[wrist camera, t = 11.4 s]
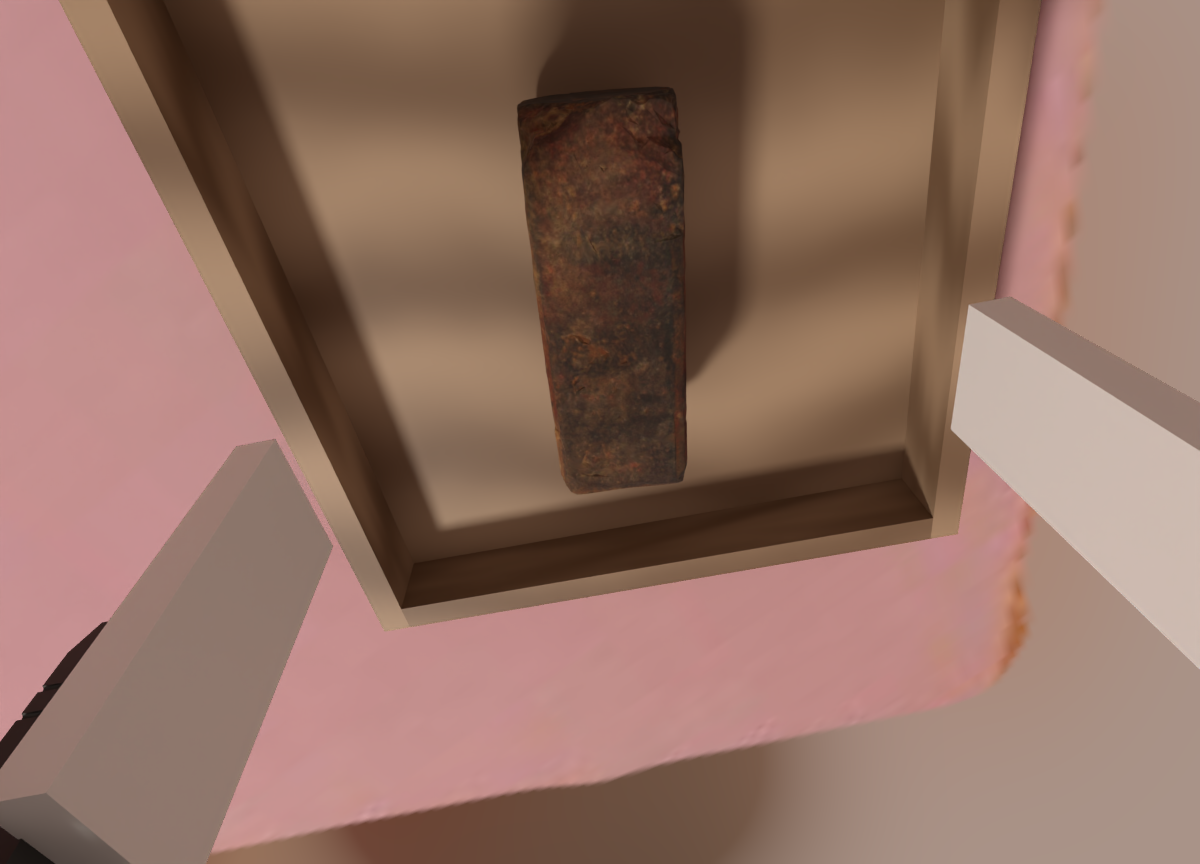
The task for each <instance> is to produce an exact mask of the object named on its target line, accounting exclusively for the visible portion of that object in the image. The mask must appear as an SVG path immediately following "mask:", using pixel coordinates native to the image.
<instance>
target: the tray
mask: <svg viewBox="0 0 1200 864" xmlns="http://www.w3.org/2000/svg"><path fill="white" fill-rule="evenodd" d="M59 2H60V4H61V6H62V8H63V10H64V12H65V13H66V15H67V17H68V19H69V21H70V23H71V25H72V27H73V29H74V31H75V33H76V35H77V37H78V39H79V41H80V43H81V44H82V46H83V48H84V50H85V52H86V54H87V56H88V58H89V60H90V62H91V64H92V66H93V68H94V70H95V72H96V74H97V75H98V77H99V79H100V81H101V83H102V85H103V87H104V89H105V91H106V93H107V95H108V97H109V99H110V101H111V103H112V104H113V106H114V108H115V110H116V112H117V114H118V116H119V118H120V120H121V122H122V124H123V126H124V128H125V130H126V132H127V134H128V135H129V137H130V139H131V141H132V143H133V145H134V147H135V149H136V151H137V153H138V155H139V157H140V159H141V161H142V163H143V164H144V166H145V168H146V170H147V172H148V174H149V176H150V178H151V180H152V182H153V184H154V186H155V188H156V190H157V192H158V194H159V195H160V197H161V199H162V201H163V203H164V205H165V207H166V209H167V211H168V213H169V215H170V217H171V219H172V221H173V223H174V225H175V226H176V228H177V230H178V232H179V234H180V236H181V238H182V240H183V242H184V244H185V246H186V248H187V250H188V252H189V254H190V255H191V257H192V259H193V261H194V263H195V265H196V267H197V269H198V271H199V273H200V275H201V277H202V279H203V281H204V283H205V285H206V286H207V288H208V290H209V292H210V294H211V296H212V298H213V300H214V302H215V304H216V306H217V308H218V310H219V312H220V314H221V316H222V317H223V319H224V321H225V323H226V325H227V327H228V329H229V331H230V333H231V335H232V337H233V339H234V341H235V343H236V345H237V346H238V348H239V350H240V352H241V354H242V356H243V358H244V360H245V362H246V364H247V366H248V368H249V370H250V372H251V374H252V376H253V377H254V379H255V381H256V383H257V385H258V387H259V389H260V391H261V393H262V395H263V397H264V399H265V401H266V403H267V405H268V407H269V408H270V410H271V412H272V414H273V416H274V418H275V420H276V422H277V424H278V426H279V428H280V430H281V432H282V434H283V436H284V437H285V439H286V441H287V443H288V445H289V447H290V449H291V451H292V453H293V455H294V457H295V459H296V461H297V463H298V465H299V467H300V468H301V470H302V472H303V474H304V476H305V478H306V480H307V482H308V484H309V486H310V488H311V490H312V492H313V494H314V496H315V497H316V499H317V501H318V503H319V505H320V507H321V509H322V511H323V513H324V515H325V517H326V519H327V521H328V523H329V525H330V527H331V528H332V530H333V532H334V534H335V536H336V538H337V540H338V542H339V544H340V546H341V548H342V550H343V552H344V554H345V556H346V558H347V559H348V561H349V563H350V565H351V567H352V569H353V571H354V573H355V575H356V577H357V579H358V581H359V583H360V585H361V587H362V588H363V590H364V592H365V594H366V596H367V598H368V600H369V602H370V604H371V606H372V608H373V610H374V612H375V614H376V616H377V618H378V619H379V621H380V623H381V625H382V627H383V629H384V631H390V630H396V629H402V628H408V627H414V626H420V625H426V624H432V623H438V622H443V621H449V620H455V619H461V618H467V617H473V616H479V615H485V614H490V613H496V612H502V611H508V610H514V609H520V608H526V607H532V606H537V605H543V604H549V603H555V602H561V601H567V600H573V599H579V598H584V597H590V596H596V595H602V594H608V593H614V592H620V591H626V590H632V589H637V588H643V587H649V586H655V585H661V584H667V583H673V582H679V581H684V580H690V579H696V578H702V577H708V576H714V575H720V574H726V573H731V572H737V571H743V570H749V569H755V568H761V567H767V566H773V565H779V564H784V563H790V562H796V561H802V560H808V559H814V558H820V557H826V556H831V555H837V554H843V553H849V552H855V551H861V550H867V549H873V548H878V547H884V546H890V545H896V544H902V543H908V542H914V541H920V540H925V539H931V538H937V537H943V536H949V535H955V534H958V528H959V522H960V516H961V509H962V503H963V497H964V490H965V484H966V477H967V471H968V465H969V458H970V452H971V448H969V447H968V446H967V445H966V444H965V443H964V442H963V441H962V440H961V439H960V438H959V437H958V436H957V435H956V434H955V433H954V432H953V431H952V430H951V423H952V417H953V410H954V403H955V396H956V389H957V382H958V375H959V368H960V362H961V355H962V348H963V341H964V334H965V327H966V320H967V314H968V307H969V304H975V303H980V302H985V301H990V300H994V299H995V293H996V287H997V280H998V274H999V268H1000V261H1001V255H1002V248H1003V242H1004V236H1005V229H1006V223H1007V217H1008V210H1009V204H1010V198H1011V191H1012V185H1013V178H1014V172H1015V166H1016V159H1017V153H1018V147H1019V140H1020V134H1021V128H1022V121H1023V115H1024V108H1025V102H1026V96H1027V89H1028V83H1029V77H1030V70H1031V64H1032V58H1033V51H1034V45H1035V38H1036V32H1037V26H1038V19H1039V13H1040V7H1041V0H59ZM640 87H670V88H673V90H674V92H675V94H676V99H677V107H678V128H679V130H680V133H679V138H678V139H679V141H680V142H681V144H682V156H683V166H684V175H685V179H684V217H685V261H686V269H685V285H686V311H685V316H686V404H687V412H686V421H687V466H686V469H685V473H684V478H683V481H681V482H679V483H674V484H665V485H655V486H644V487H633V488H625V489H617V490H610V491H603V492H597V493H590V494H580V495H577V494H574V493H572V492H571V491H570V490H569V488H568V487H567V486H566V484H565V481H564V480H563V477H562V475H561V471H560V466H559V458H558V449H557V442H556V437H555V432H554V431H555V423H554V418H553V412H552V406H551V399H550V391H549V384H548V379H547V374H546V366H545V357H544V350H543V343H542V336H541V327H540V319H539V312H538V306H537V299H536V292H535V286H534V280H533V265H532V255H531V247H530V240H529V234H528V228H527V221H526V213H525V199H524V189H523V180H522V171H521V169H522V161H521V152H520V150H521V145H520V139H519V131H518V124H517V118H518V113H517V105H518V104H520V103H521V102H522V101H524V100H528V99H533V98H537V97H543V96H549V95H556V94H570V93H576V92H585V91H597V90H610V89H623V88H640Z"/></svg>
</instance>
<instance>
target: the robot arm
mask: <svg viewBox="0 0 1200 864" xmlns="http://www.w3.org/2000/svg"><path fill="white" fill-rule="evenodd" d="M951 430H952V431H953V432H954V433H955V434H956V435H957V436H958V437H959V438H960V439H961V440H962V441H963V442H964V443H965V444H966V445H967V446H968V447H969V448H971V449H972V450H973V451H974V452H975V453H976V454H977V455H978V456H979V457H980V458H981V459H982V460H983V461H984V462H985V463H986V464H987V465H988V466H989V467H990V468H991V469H992V470H993V471H994V472H995V473H996V474H997V475H999V476H1000V477H1001V478H1002V479H1003V480H1004V481H1005V482H1006V483H1007V484H1008V485H1009V486H1010V487H1011V488H1012V489H1013V490H1014V491H1015V492H1016V493H1017V494H1018V495H1019V496H1020V497H1021V498H1022V499H1023V500H1024V501H1025V502H1027V503H1028V504H1029V505H1030V506H1031V507H1032V508H1033V509H1034V510H1035V511H1036V512H1037V513H1038V514H1039V515H1040V516H1041V517H1042V518H1043V519H1044V520H1045V521H1046V522H1047V523H1048V524H1049V525H1051V526H1052V528H1053V529H1055V530H1056V531H1057V532H1058V533H1059V534H1060V535H1061V536H1062V537H1063V538H1064V539H1065V540H1066V541H1067V542H1068V543H1069V544H1070V545H1071V546H1072V547H1073V548H1074V549H1075V550H1076V551H1077V552H1078V553H1079V554H1080V555H1082V556H1083V557H1084V558H1085V559H1086V560H1087V561H1088V562H1089V563H1090V564H1091V565H1092V566H1093V567H1094V568H1095V569H1096V570H1097V571H1098V572H1099V573H1100V574H1101V575H1102V576H1103V577H1104V578H1105V579H1106V580H1107V581H1109V583H1111V584H1112V585H1113V586H1114V587H1115V588H1116V589H1117V590H1118V591H1119V592H1120V593H1121V594H1122V595H1123V596H1124V597H1125V598H1126V599H1127V600H1128V601H1129V602H1130V603H1131V604H1132V605H1133V606H1135V608H1137V610H1139V611H1140V612H1141V613H1142V614H1143V615H1144V616H1145V617H1146V618H1147V619H1148V620H1149V621H1150V622H1151V623H1152V624H1153V625H1154V626H1155V627H1156V628H1157V629H1158V630H1159V631H1160V632H1161V633H1162V634H1163V635H1164V636H1166V637H1167V638H1168V639H1169V640H1170V641H1171V642H1172V643H1173V644H1174V645H1175V646H1176V647H1177V648H1178V649H1179V650H1180V651H1181V652H1182V653H1183V654H1184V655H1185V656H1186V657H1187V658H1188V659H1189V660H1190V661H1191V662H1192V663H1194V664H1195V665H1196V666H1197V667H1198V668H1199V669H1200V403H1199V402H1198V401H1196V400H1194V399H1192V398H1190V397H1189V396H1187V395H1185V394H1183V393H1181V392H1180V391H1177V390H1176V389H1174V388H1173V387H1171V386H1169V385H1167V384H1166V383H1164V382H1162V381H1160V380H1158V379H1157V378H1155V377H1153V376H1151V375H1149V374H1148V373H1146V372H1144V371H1142V370H1140V369H1139V368H1137V367H1135V366H1133V365H1132V364H1130V363H1128V362H1126V361H1124V360H1123V359H1121V358H1119V357H1117V356H1116V355H1114V354H1112V353H1110V352H1108V351H1106V350H1105V349H1103V348H1101V347H1100V346H1098V345H1096V344H1094V343H1092V342H1090V341H1089V340H1087V339H1085V338H1083V337H1082V336H1080V335H1078V334H1076V333H1075V332H1073V331H1071V330H1069V329H1067V328H1066V327H1064V326H1062V325H1060V324H1058V323H1057V322H1055V321H1053V320H1051V319H1050V318H1048V317H1046V316H1044V315H1042V314H1041V313H1039V312H1037V311H1035V310H1033V309H1032V308H1030V307H1028V306H1026V305H1025V304H1023V303H1021V302H1019V301H1017V300H1016V299H1014V298H1012V297H1006V298H1000V299H995V300H990V301H985V302H980V303H975V304H969V307H968V314H967V320H966V327H965V334H964V341H963V348H962V355H961V362H960V368H959V375H958V382H957V389H956V396H955V403H954V410H953V417H952V423H951ZM332 548H333V545H332V543H331V541H330V540H329V538H328V536H327V534H326V532H325V530H324V528H323V527H322V525H321V523H320V521H319V519H318V517H317V515H316V514H315V512H314V510H313V508H312V506H311V504H310V502H309V500H308V499H307V497H306V495H305V493H304V491H303V489H302V487H301V486H300V484H299V482H298V480H297V478H296V476H295V474H294V473H293V471H292V469H291V467H290V465H289V463H288V461H287V460H286V458H285V456H284V454H283V452H282V450H281V448H280V447H279V445H278V443H277V441H276V439H273V440H268V441H262V442H257V443H252V444H247V445H242V446H237V447H235V449H234V450H233V451H232V453H231V454H230V456H229V457H228V458H227V460H226V461H225V462H224V464H223V465H222V467H221V468H220V469H219V471H218V472H217V473H216V475H215V476H214V477H213V479H212V480H211V482H210V483H209V484H208V486H207V487H206V488H205V490H204V491H203V493H202V494H201V495H200V497H199V498H198V499H197V501H196V502H195V503H194V505H193V506H192V508H191V509H190V510H189V512H188V513H187V514H186V516H185V517H184V519H183V520H182V521H181V523H180V524H179V525H178V527H177V528H176V529H175V531H174V532H173V534H172V535H171V536H170V538H169V539H168V540H167V542H166V543H165V544H164V546H163V547H162V549H161V550H160V551H159V553H158V554H157V555H156V557H155V558H154V560H153V561H152V562H151V564H150V565H149V566H148V568H147V569H146V570H145V572H144V573H143V575H142V576H141V577H140V579H139V580H138V581H137V583H136V584H135V586H134V587H133V588H132V590H131V591H130V592H129V594H128V595H127V596H126V598H125V599H124V601H123V602H122V603H121V605H120V606H119V607H118V609H117V610H116V612H115V613H114V614H113V616H112V617H111V618H110V620H109V621H108V622H103V623H101V624H100V625H99V626H98V627H97V628H95V629H94V630H93V631H92V632H91V633H90V634H89V635H88V636H86V637H85V638H84V639H83V640H82V641H81V642H80V643H79V644H77V645H76V646H75V647H74V648H73V649H72V650H71V651H69V652H68V653H67V655H66V656H65V657H64V659H63V660H62V661H61V663H60V664H59V665H58V667H57V668H56V669H55V670H54V672H53V673H52V674H51V676H50V677H49V678H48V680H47V681H46V682H45V684H44V685H43V688H44V689H43V692H38V693H37V694H36V695H35V697H34V698H33V699H32V701H31V702H30V703H29V705H28V706H27V707H26V709H25V710H24V711H23V713H22V715H23V718H22V720H18V721H16V722H15V723H14V724H13V726H12V727H11V728H10V730H9V731H8V732H7V734H6V735H5V736H4V738H3V739H2V740H1V742H0V864H206V862H207V860H208V857H209V855H210V852H211V850H212V847H213V845H214V842H215V840H216V837H217V835H218V832H219V830H220V827H221V825H222V822H223V820H224V817H225V815H226V812H227V810H228V807H229V805H230V802H231V800H232V797H233V795H234V792H235V790H236V787H237V785H238V782H239V780H240V777H241V775H242V772H243V770H244V767H245V765H246V762H247V760H248V757H249V755H250V752H251V750H252V747H253V745H254V742H255V740H256V737H257V735H258V732H259V730H260V727H261V725H262V722H263V720H264V717H265V715H266V712H267V710H268V707H269V705H270V703H271V700H272V698H273V695H274V693H275V690H276V688H277V685H278V683H279V680H280V678H281V675H282V673H283V670H284V668H285V665H286V663H287V660H288V658H289V655H290V653H291V650H292V648H293V645H294V643H295V640H296V638H297V635H298V633H299V630H300V628H301V625H302V623H303V620H304V618H305V615H306V613H307V610H308V608H309V605H310V603H311V600H312V598H313V595H314V593H315V590H316V588H317V585H318V583H319V580H320V578H321V575H322V573H323V570H324V568H325V565H326V563H327V560H328V558H329V555H330V553H331V550H332Z"/></svg>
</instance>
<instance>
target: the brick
mask: <svg viewBox="0 0 1200 864" xmlns="http://www.w3.org/2000/svg"><path fill="white" fill-rule="evenodd" d="M517 113H518V118H517V124H518V131H519V139H520V145H521V150H520V152H521V161H522V169H521V171H522V180H523V189H524V199H525V213H526V221H527V228H528V234H529V240H530V247H531V255H532V265H533V280H534V286H535V292H536V299H537V306H538V312H539V319H540V327H541V336H542V343H543V350H544V357H545V366H546V374H547V379H548V384H549V391H550V399H551V406H552V412H553V418H554V423H555V431H554V432H555V437H556V442H557V449H558V458H559V466H560V471H561V475H562V477H563V480H564V481H565V484H566V486H567V487H568V488H569V490H570V491H571V492H572V493H574V494H577V495H580V494H590V493H597V492H603V491H610V490H617V489H625V488H633V487H644V486H655V485H665V484H674V483H679V482H681V481H683V478H684V473H685V469H686V466H687V421H686V412H687V404H686V316H685V311H686V285H685V269H686V261H685V217H684V179H685V175H684V166H683V156H682V144H681V142H680V141H679V139H678V138H679V133H680V130H679V128H678V107H677V99H676V94H675V92H674V90H673V88H670V87H640V88H623V89H610V90H597V91H585V92H576V93H570V94H556V95H549V96H543V97H537V98H533V99H528V100H524V101H522V102H521V103H520V104H518V105H517Z"/></svg>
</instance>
